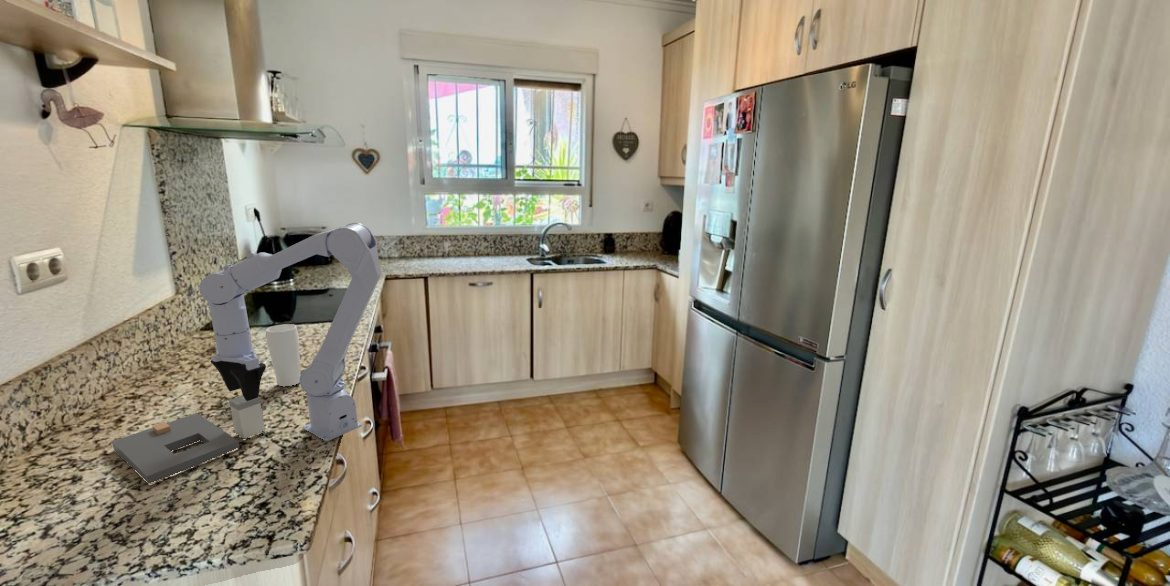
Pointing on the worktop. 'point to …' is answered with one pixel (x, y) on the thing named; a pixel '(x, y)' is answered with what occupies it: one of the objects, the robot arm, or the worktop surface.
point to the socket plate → (173, 446)
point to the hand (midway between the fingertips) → (243, 394)
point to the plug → (247, 416)
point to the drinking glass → (284, 353)
